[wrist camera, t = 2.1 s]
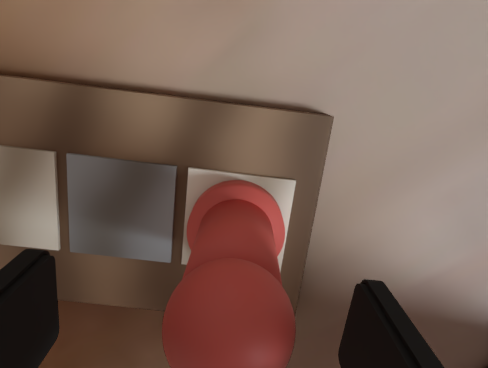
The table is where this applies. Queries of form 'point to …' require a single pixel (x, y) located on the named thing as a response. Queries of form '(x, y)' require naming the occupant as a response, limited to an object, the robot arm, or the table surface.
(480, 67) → the table surface
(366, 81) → the table surface
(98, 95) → the board
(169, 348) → the pawn
